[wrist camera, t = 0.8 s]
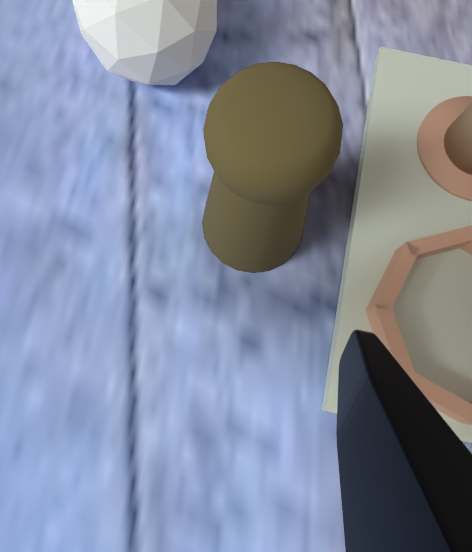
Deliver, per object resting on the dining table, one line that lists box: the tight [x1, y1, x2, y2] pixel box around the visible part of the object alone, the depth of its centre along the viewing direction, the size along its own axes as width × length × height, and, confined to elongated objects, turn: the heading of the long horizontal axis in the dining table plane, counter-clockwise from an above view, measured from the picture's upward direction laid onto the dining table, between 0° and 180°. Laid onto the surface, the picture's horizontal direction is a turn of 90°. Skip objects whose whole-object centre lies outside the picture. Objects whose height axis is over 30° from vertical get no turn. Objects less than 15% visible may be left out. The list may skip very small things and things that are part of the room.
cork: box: [202, 62, 343, 273], centre depth 20 cm, size 6×6×11 cm
